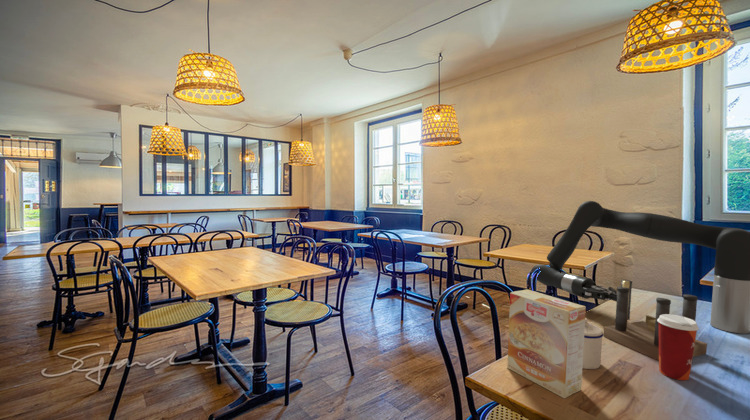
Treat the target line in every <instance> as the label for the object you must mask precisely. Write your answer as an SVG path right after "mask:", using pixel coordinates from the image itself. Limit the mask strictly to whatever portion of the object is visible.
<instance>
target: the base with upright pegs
mask: <svg viewBox="0 0 750 420" xmlns="http://www.w3.org/2000/svg"><path fill="white" fill-rule="evenodd" d="M616 291H617V302H616V305H615V307H616V308H615V322H614V324H615V325H613V324H612V325H607V326H603V337H604V338H607V339H609V340H611V341H613V342H616V343H618V344H620V345H623V346H625V347H626V348H630V349H631V350H634V351H636V352H639V353H641V354H643V355H645V356H648V357H650V358H652V359H655V360H657V361H659V322H658V321H657V319H658V318H659V316H660V315H662V314H671V312H670V311H671V305H672V300H671V299H669V298H665V297H656V306H655V307H656V308H655V317H654V316H651V315H647V314H646V315H645V321H644V320H640V321H634V322H628V320H627V312H628V295H629V288H626V287H621V286H616ZM682 295H683V296H682V298H683V300H682V315H681V316H683V317H686V318H689V319H692V320H694V321H695V322H696V320H697V319H696V318H697V317H696V316H697V305H698V304H697V303H698V299H699V297H698V296H696V295H693V294H688V293H687V294H685V293H684V294H682ZM707 346H708V343H706V342H703V341H700V340H698V339H695V345H694V352H693V358H694V357H699V356H702V355H707V348H708V347H707Z"/></svg>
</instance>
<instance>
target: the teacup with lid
mask: <svg viewBox="0 0 750 420" xmlns="http://www.w3.org/2000/svg"><path fill="white" fill-rule="evenodd" d="M603 337H604V330H602V329H601V328H600V327H599V326H596V325H595V324H592V323H591V322H589V321H588V318H587V317H585V330H584V348H583V367H582V369H585V370H596V369H599V368H600V367H601V363H602V360H601V359H602V347H603V346H602V345H603V344H602V343H603Z"/></svg>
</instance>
